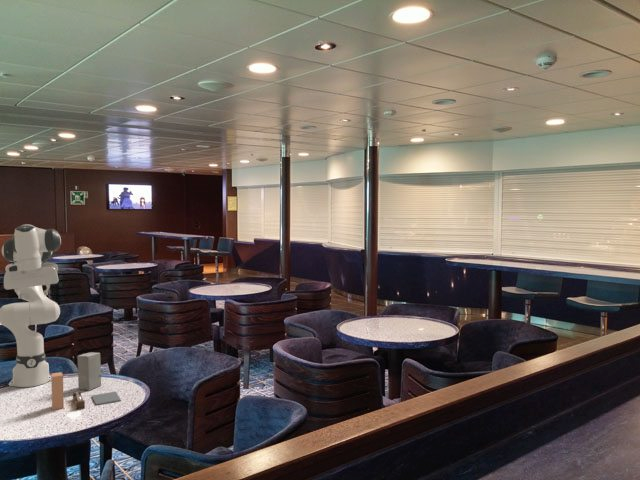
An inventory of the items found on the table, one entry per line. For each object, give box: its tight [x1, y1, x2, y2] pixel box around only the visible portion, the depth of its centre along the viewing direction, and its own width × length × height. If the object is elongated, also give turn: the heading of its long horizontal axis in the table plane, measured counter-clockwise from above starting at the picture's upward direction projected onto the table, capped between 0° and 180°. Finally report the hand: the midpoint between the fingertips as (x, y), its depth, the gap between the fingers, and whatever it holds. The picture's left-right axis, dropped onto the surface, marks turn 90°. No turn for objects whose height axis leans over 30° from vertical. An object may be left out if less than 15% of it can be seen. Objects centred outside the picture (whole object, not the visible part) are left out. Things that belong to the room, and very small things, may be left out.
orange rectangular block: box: [50, 371, 65, 411], centre depth 216 cm, size 5×4×14 cm
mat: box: [91, 391, 121, 406], centre depth 227 cm, size 12×10×1 cm
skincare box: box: [76, 351, 102, 391], centre depth 241 cm, size 8×7×16 cm
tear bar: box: [72, 390, 86, 410], centre depth 221 cm, size 14×3×3 cm, turn 31°
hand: (33, 296), depth 219 cm, fingers open, 8 cm apart
